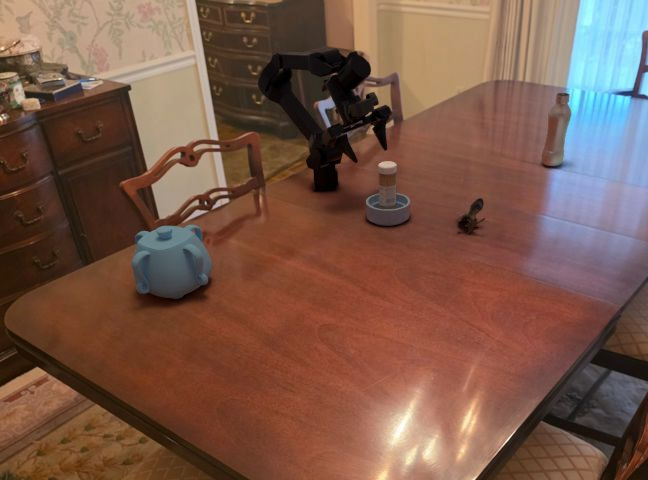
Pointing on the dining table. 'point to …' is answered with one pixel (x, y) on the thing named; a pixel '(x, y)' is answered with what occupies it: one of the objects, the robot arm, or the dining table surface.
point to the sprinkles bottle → (387, 185)
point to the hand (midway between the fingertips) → (371, 156)
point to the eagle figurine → (472, 215)
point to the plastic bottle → (557, 131)
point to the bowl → (388, 211)
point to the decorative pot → (170, 261)
